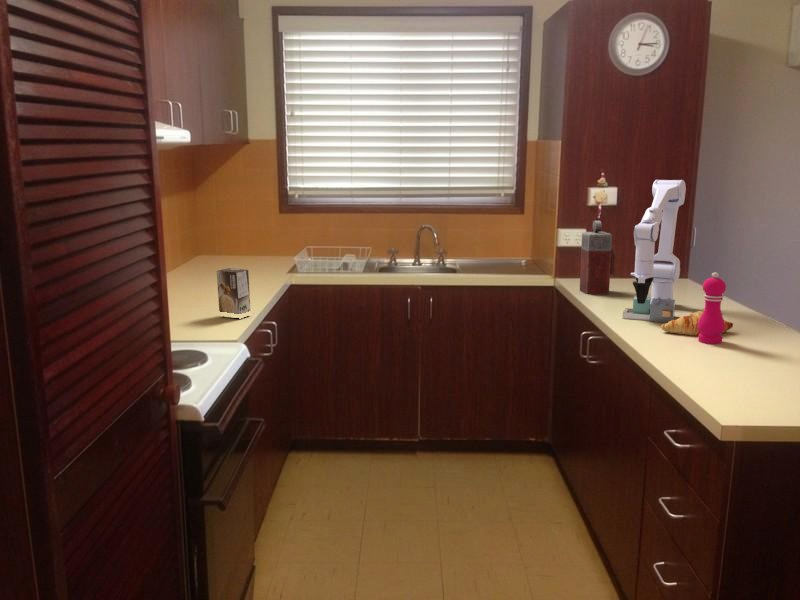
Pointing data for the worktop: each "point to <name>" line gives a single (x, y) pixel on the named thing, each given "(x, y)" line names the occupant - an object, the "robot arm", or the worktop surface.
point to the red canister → (596, 261)
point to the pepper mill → (712, 311)
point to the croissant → (688, 324)
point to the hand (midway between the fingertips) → (642, 301)
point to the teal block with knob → (641, 306)
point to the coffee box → (233, 291)
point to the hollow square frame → (654, 311)
